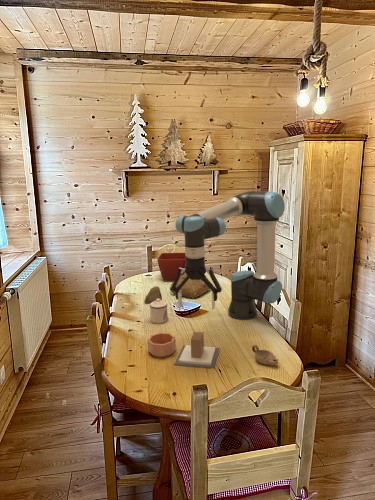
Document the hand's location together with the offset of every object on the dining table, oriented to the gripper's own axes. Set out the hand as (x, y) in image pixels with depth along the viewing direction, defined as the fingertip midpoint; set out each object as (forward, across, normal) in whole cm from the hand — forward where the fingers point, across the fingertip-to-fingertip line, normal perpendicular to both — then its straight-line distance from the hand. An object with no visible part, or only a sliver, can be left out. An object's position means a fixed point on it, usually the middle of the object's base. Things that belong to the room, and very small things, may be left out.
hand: (196, 307), depth 150 cm
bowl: (+22, -16, +2) cm, 27 cm away
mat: (+22, 0, 0) cm, 22 cm away
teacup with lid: (+22, -27, +35) cm, 49 cm away
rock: (+22, -38, +59) cm, 74 cm away
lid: (+21, 0, 0) cm, 21 cm away
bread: (+23, -19, +78) cm, 84 cm away
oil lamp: (+22, +27, +1) cm, 35 cm away
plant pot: (+23, -37, +104) cm, 112 cm away
